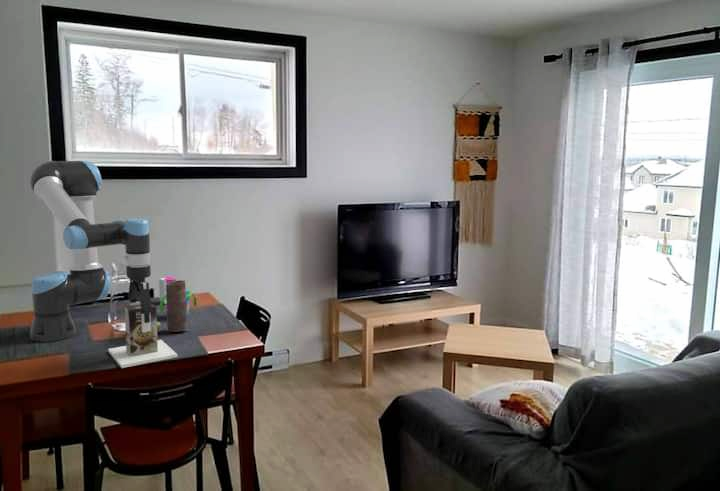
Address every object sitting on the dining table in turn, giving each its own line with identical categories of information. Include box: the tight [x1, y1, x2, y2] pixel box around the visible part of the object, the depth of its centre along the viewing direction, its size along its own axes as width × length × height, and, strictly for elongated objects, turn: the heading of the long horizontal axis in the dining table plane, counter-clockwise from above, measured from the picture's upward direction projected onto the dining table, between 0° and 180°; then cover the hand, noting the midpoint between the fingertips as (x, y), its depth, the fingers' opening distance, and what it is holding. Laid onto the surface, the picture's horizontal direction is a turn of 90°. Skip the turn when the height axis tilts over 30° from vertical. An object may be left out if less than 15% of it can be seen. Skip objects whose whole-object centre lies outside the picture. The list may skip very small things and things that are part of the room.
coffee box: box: [124, 302, 158, 356], centre depth 191 cm, size 9×6×16 cm
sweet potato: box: [166, 279, 188, 333], centre depth 216 cm, size 8×7×20 cm
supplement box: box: [158, 276, 177, 306], centre depth 256 cm, size 6×6×12 cm
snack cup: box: [159, 290, 198, 317], centre depth 236 cm, size 16×10×10 cm
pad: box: [107, 339, 178, 369], centre depth 192 cm, size 18×18×1 cm
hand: (140, 326), depth 191 cm, fingers open, 13 cm apart
